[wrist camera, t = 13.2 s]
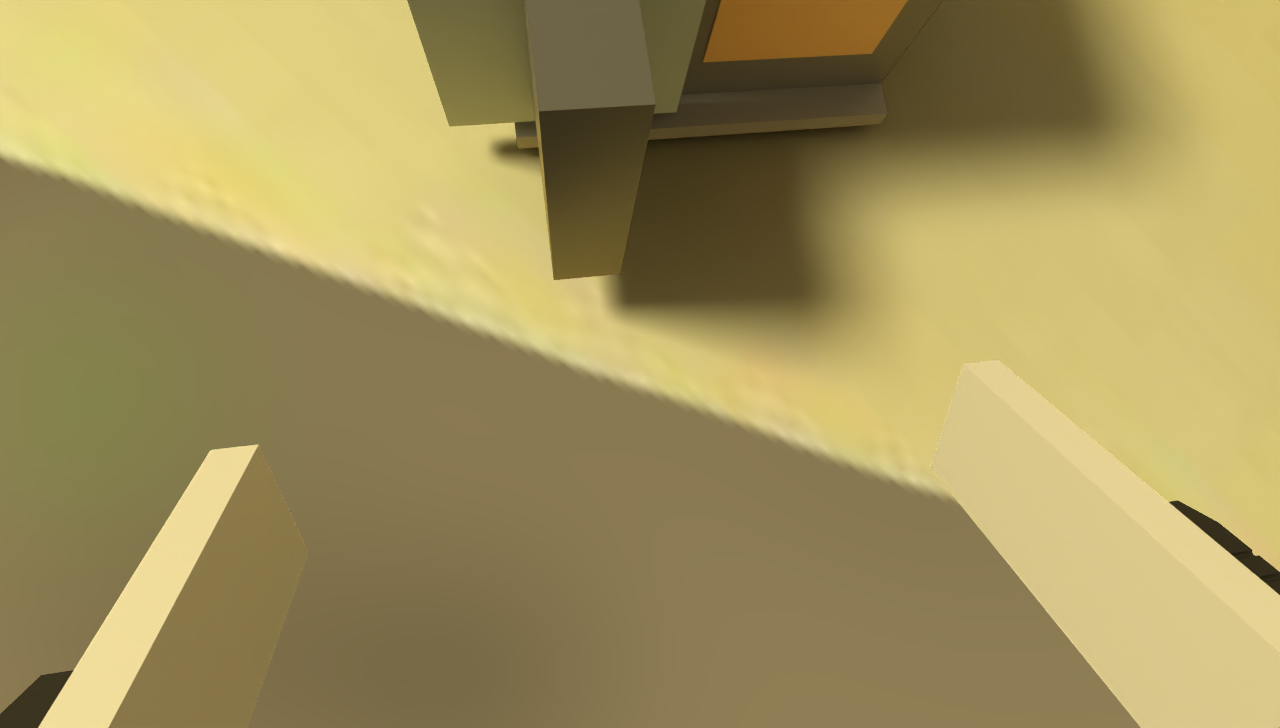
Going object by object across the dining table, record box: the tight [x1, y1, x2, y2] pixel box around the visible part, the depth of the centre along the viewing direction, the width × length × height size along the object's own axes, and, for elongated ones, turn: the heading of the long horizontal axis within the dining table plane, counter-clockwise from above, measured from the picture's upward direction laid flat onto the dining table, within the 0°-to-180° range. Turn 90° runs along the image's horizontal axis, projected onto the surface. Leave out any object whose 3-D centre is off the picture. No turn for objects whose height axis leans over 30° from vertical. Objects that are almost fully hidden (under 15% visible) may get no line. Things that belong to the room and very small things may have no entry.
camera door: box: [407, 0, 706, 280], centre depth 18 cm, size 9×8×12 cm
